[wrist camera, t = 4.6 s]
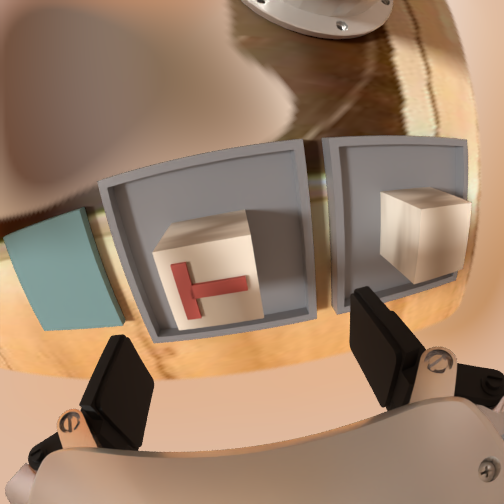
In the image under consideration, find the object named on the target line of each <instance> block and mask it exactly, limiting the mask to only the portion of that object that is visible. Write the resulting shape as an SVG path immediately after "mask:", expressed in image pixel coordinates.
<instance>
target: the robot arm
mask: <svg viewBox="0 0 504 504" xmlns="http://www.w3.org/2000/svg"><path fill="white" fill-rule="evenodd" d="M241 1H242V2H243V3H244V4H245V5H247V6H248V7H249V8H250V9H252V10H253V11H254V12H255V13H257V14H259V15H260V16H262V17H264V18H265V19H267V20H269V21H270V22H273V23H275V24H277V25H280V26H282V27H284V28H286V29H289V30H292V31H295V32H298V33H301V34H305V35H310V36H315V37H319V38H329V39H349V38H355V37H359V36H364V35H366V34H368V33H370V32H372V31H374V30H376V29H377V28H379V27H380V26H381V25H383V24H384V23H385V22H386V20H387V19H388V18H389V17H390V14H391V12H392V9H393V0H241ZM259 2H260V3H263V4H260V3H259ZM338 28H339V29H338ZM350 348H351V350H352V352H353V354H354V356H355V358H356V359H357V361H358V363H359V365H360V367H361V369H362V371H363V373H364V374H365V377H366V378H367V380H368V382H369V384H370V386H371V388H372V390H373V392H374V394H375V395H376V397H377V400H378V402H379V403H380V405H381V407H386V409H387V412H384V413H381V414H379V415H376V416H373V417H370V418H367V419H364V420H361V421H359V422H355V423H352V424H349V425H346V426H342V427H339V428H336V429H332V430H329V431H325V432H321V433H318V434H314V435H309V436H305V437H301V438H297V439H292V440H287V441H282V442H277V443H271V444H265V445H258V446H252V447H244V448H235V449H226V450H214V451H198V452H149V451H138V449H139V447H141V445H142V442H143V436H144V431H145V426H146V421H147V416H148V411H149V407H150V402H151V398H152V393H153V389H154V381H153V378H152V377H151V375H150V373H149V372H148V370H147V368H146V367H145V365H144V363H143V362H142V360H141V358H140V357H139V355H138V353H137V351H136V349H135V348H134V346H133V344H132V342H131V340H130V339H129V338H128V337H126V336H125V335H123V334H122V335H114V336H111V337H110V339H109V341H108V343H107V345H106V347H105V349H104V351H103V353H102V355H101V357H100V359H99V361H98V364H97V366H96V368H95V370H94V372H93V374H92V377H91V379H90V381H89V383H88V386H87V388H86V390H85V393H84V395H83V397H82V400H81V402H80V404H79V405H80V406H81V407H82V408H81V411H79V410H77V409H69V410H67V411H65V412H64V413H62V415H61V416H60V417H59V419H58V421H57V431H58V432H56V433H55V434H53V435H52V436H50V437H49V438H47V439H45V440H44V441H43V442H41V443H39V444H37V445H36V446H34V447H33V448H32V450H31V451H30V453H29V456H28V461H29V464H27V463H25V464H24V465H23V466H22V467H21V469H20V470H19V471H18V472H17V473H16V474H15V475H14V476H13V477H12V478H11V480H10V481H9V482H8V483H7V485H6V488H5V494H6V496H7V498H8V500H9V502H10V503H11V504H504V375H503V373H501V372H500V371H498V370H494V369H488V368H482V367H476V366H470V365H464V364H459V363H457V358H456V356H455V354H454V353H453V352H452V351H451V350H449V349H447V348H444V347H432V348H429V349H427V350H426V349H425V348H424V346H423V345H422V344H421V343H420V341H419V340H418V339H417V338H416V337H415V335H414V334H413V333H412V332H411V331H410V329H409V328H408V327H407V326H406V325H405V323H404V322H403V321H402V320H401V319H400V318H399V316H398V315H397V314H396V313H395V312H394V311H390V310H389V309H388V308H387V307H386V305H385V304H384V303H383V302H382V301H381V300H380V298H379V297H378V296H377V295H376V294H375V293H374V292H373V291H372V289H371V288H370V287H369V286H365V287H361V288H357V289H355V290H354V293H352V294H351V295H350Z"/></svg>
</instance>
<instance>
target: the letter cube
mask: <svg viewBox="0 0 504 504" xmlns="http://www.w3.org/2000/svg"><path fill="white" fill-rule="evenodd" d="M152 253H153V257H154V260H155V263H156V266H157V269H158V273H159V276H160V279H161V282H162V285H163V288H164V291H165V293H166V296H167V299H168V302H169V305H170V308H171V310H172V313H173V316H174V319H175V321H176V324H177V326H178V329H179V330H187V329H195V328H203V327H210V326H217V325H224V324H231V323H237V322H243V321H250V320H256V319H261V318H264V313H263V307H262V301H261V295H260V289H259V282H258V276H257V270H256V264H255V258H254V252H253V246H252V240H251V234H250V229H249V225H248V221H247V216H246V212H245V210H240V211H234V212H228V213H222V214H217V215H212V216H206V217H201V218H196V219H190V220H185V221H180V222H175V223H171V224H170V226H169V227H168V229H167V230H166V232H165V233H164V235H163V237H162V238H161V240H160V241H159V243H158V244H157V246H156V247H155V249H154V250H153V252H152Z"/></svg>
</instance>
